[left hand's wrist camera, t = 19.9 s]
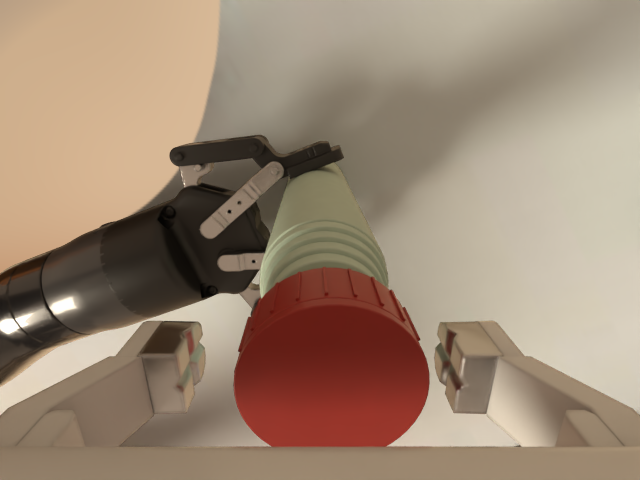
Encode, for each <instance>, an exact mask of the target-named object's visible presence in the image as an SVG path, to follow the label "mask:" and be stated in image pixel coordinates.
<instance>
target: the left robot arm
mask: <svg viewBox="0 0 640 480" xmlns="http://www.w3.org/2000/svg"><path fill="white" fill-rule="evenodd" d="M202 335H203V333H202V327H201V324H200V323H199V322H184V321H146V322H143V323H142V325H141V326H140V327H139V328H138V329H137V331H136V332H135V333H134V334H133V335H132V337H131V338H130V339H129V340H128V341H127V343H126V344H125V345H124V346H123V348H122V349H121V350H120V351H119V352H118V354H117V355H116V356H114V357H107V358H106V359H104V360H102V361H100V362H98V363H96V364H94V365H92V366H90V367H88V368H86V369H84V370H82V371H80V372H78V373H76V374H74V375H72V376H70V377H68V378H66V379H64V380H62V381H60V382H58V383H57V384H55V385H53V386H51V387H49V388H47V389H45V390H43V391H41V392H39V393H37V394H35V395H33V396H31V397H29V398H27V399H25V400H23V401H21V402H19V403H17V404H15V405H13V406H11V407H9V408H8V409H7V410H6V411H5V412H4V413H3V414H2V415H0V480H640V415H639V414H638V413H637V412H636V411H635V410H634V409H632V408H630V407H628V406H626V405H624V404H622V403H621V402H619V401H617V400H615V399H613V398H611V397H609V396H607V395H605V394H603V393H601V392H599V391H597V390H595V389H593V388H591V387H589V386H587V385H585V384H583V383H581V382H579V381H578V380H576V379H574V378H572V377H570V376H568V375H566V374H564V373H562V372H560V371H558V370H556V369H554V368H552V367H550V366H548V365H546V364H544V363H542V362H540V361H538V360H536V359H534V358H533V357H526V356H524V355H523V354H522V352H521V351H520V350H519V349H518V347H517V346H516V345H515V344H514V343H513V341H512V340H511V339H510V338H509V337H508V335H507V334H506V333H505V332H504V331H503V329H502V328H501V327H500V326H499V325H498V323H497V322H495V321H475V322H440V324H439V327H438V333H437V335H438V337H439V339H440V341H441V343H440V344H439V345H438V346H437V347H436V348H435V357H434V359H435V369H436V373H437V376H438V378H439V381H440V382H441V383H443V384H444V385H445V386H446V391H445V395H446V397H447V399H448V401H449V404H450V406H451V408H452V410H453V413H470V414H486V416H487V417H489V418H490V419H491V420H492V421H493V422H494V423H495V424H497V425H498V426H499V427H500V428H501V429H502V430H503V431H505V432H506V433H507V434H508V435H509V436H510V437H511V438H513V439H514V440H515V441H516V442H517V443H518V444H519V445H521V446H522V447H118V446H120V445H121V444H122V443H123V442H124V441H125V440H126V439H128V438H129V437H130V436H131V435H132V434H133V433H134V432H136V431H137V430H138V429H139V428H140V427H141V426H143V425H144V424H145V423H146V422H147V421H148V420H149V419H151V418H152V417H153V416H154V414H169V413H187V410H188V408H189V406H190V404H191V401H192V399H193V397H194V395H195V391H194V386H195V385H196V384H197V383H199V382H200V381H201V378H202V376H203V373H204V368H205V348H204V347H203V346H202V345H201V344H200V342H199V341H200V339H201V337H202Z"/></svg>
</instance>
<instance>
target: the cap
mask: <svg viewBox="0 0 640 480" xmlns="http://www.w3.org/2000/svg"><path fill="white" fill-rule="evenodd" d="M419 340H420V338H419V336H418V334H417V331H416V329H415V327H414V325H413V323H412V321H411V319H410V317H409V315H408V313H407V310H406V308H405V307H403V308H402V306H401V304H400V302H399V301H398V299H397V298H396V297H395V294H394V292H393V291H392V290H389V289H388V288H387V287H386V286H384V285H383V284H381V283H380V282H379V281H377V280H375V278H374V277H373V276H372V277H370V276H368V275H365V274H363V273H360V272H357V271H353V270H351V269H349V268H348V269H343V268H326V267H323V268H317V269H311V270H307V271H303V272H297V274H295V275H292V276H290V277H288V278H286V279H284V280H282V281H281V282H279V283H278V282H277V283H275V286H274V287H272V288H271V289H270V290H269V291H268V292H267V293H266V294H265V295H264V296H263V297H262V299H261V298H259V300H258V303H257V306H256V307H255V309H254V311H253V313H252V316H251V317H248V320H247V323H246V326H245V330H244V333H243V336H242V340H241V343H240V346H239V350H238V352H240V354H239V357H238V361H237V364H236V368H235V371H234V395H235V399H236V403H237V407H238V409H239V411H240V414H241V416H242V417H243V419H244V421H245V422H246V424H247V425H248V426H249V427H250V429H251V430H252V431H253V432H254V433H255V434H256V435H257V436H258V437H259V438H261V439H262V440H263V441H265V442H266V443H267V444H269V445H270V446H272V447H386V446H387V445H389V444H391V443H392V442H394V441H395V440H397V439H398V438H399V437H401V436H402V435H403V434H404V433H405V432H406V431H407V430H408V429H409V428H410V427H411V426H412V425H413V423H414V422H415V421H416V419H417V418H418V416H419V415H420V413H421V411H422V409H423V407H424V405H425V402H426V399H427V396H428V390H429V369H428V364H427V360H426V357H425V355H424V352H423V350H422V348H421V346H420V344H419V342H418V341H419Z"/></svg>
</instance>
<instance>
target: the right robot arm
mask: <svg viewBox="0 0 640 480" xmlns="http://www.w3.org/2000/svg"><path fill="white" fill-rule="evenodd" d="M248 158H253V159H254V160H255V162H256V163H257V164H258V165H259V166H260V167H261V168H262V169H261V170H259V171H258V172H257V173H256V174H255V175H254V176H253V177H252V178H250V179H249V180H248V181H247V182H246V183H245V184H244V185H243V186H242V187H240V188H239V189H238V190H237V191H236V192H235V191H231V190H227V189H223V188H220V187H216V186H212V185H208V184H204V183H201V179H202V176H203V175H205V174H207V173H209V172H211V171H212V170H213V168H214V163H215V162H223V161H232V160H240V159H248ZM343 158H344V157H343V154H342V151H341V148H340V146H339V145H337V146H334V147H331V148H330V145H329V142H328V141H319V142H316V143H314V144H311V145H309V146H306V147H304V148H301V149H299V150H296V151H293V152H291V153H288V154H280V153H278V152H276V151H275V150H274V149H273V147H272V146H271V145H270V144H269V142H268V140H267V138H266V137H265V136H263V135H254V136H245V137H237V138H229V139H221V140H213V141H205V142H197V143H189V144H186V145H182V146H179V147H175V148H173V149H172V150H171V152H170V160H171V161H172V163H173V164H174V165H176V166H179V169H180V173H181V177H182V181H183V185H184V188H183V189H182V190H181V191H180V192H179V194H178V195H177V196H176V198H174V199H172V200H170V201H167V202H165V203H162V204H159V205H157V206H154V207H152V208H149V209H147V210H144V211H142V212H139V213H136V214H134V215H131V216H129V217H126V218H123V219H121V220H118V221H115V222H110V223H107V224H104V225H102V226H101V227H100V228H98V229H95V230H93V231H90V232H88V233H85V234H83V235H81V236H79V237H78V238H76V239H74V240H72V241H71V242H69V243H67V244H65V245H63V246H61V247H59V248H56V249H54V250H51V251H48V252H46V253H43V254H41V255H38V256H36V257H33V258H30V259H28V260H25V261H23V262H21V263H18V264H15V265H13V266H11V267H9V268H7V269H6V270H4V271H3V272H1V273H0V387H1V386H3V385H4V384H6V383H8V382H9V381H11V380H12V379H13V378H15V377H16V376H18V375H19V374H20V373H22V372H23V371H24V370H26V369H27V368H28V367H29V366H31V365H32V364H33V363H35V362H36V361H37V360H39V359H40V358H42V357H43V356H45V355H46V354H48V353H49V352H51V351H52V350H54V349H55V348H57V347H59V346H62V345H64V344H67V343H70V342H73V341H76V340H79V339H82V338H85V337H88V336H90V335H93V334H96V333H99V332H102V331H107V330H113V329H118V328H123V327H126V326H129V325H132V324H135V323H138V322H141V321H144V320H147V319H150V318H153V317H156V316H158V315H161V314H164V313H167V312H170V311H173V310H176V309H179V308H182V307H184V306H187V305H190V304H193V303H196V302H199V301H202V300H205V299H207V298H210V297H212V296H214V295H216V294H220V293H230V294H238V293H239V294H240V295H241V296H242V297H243V298H244V299H245V301H246V302H247V303H248V304H249V305H250V306H251V307H252V311H251V316H252V313H253V311H254V309H255V307H256V306H257V303H258V300H259V298H261V294H260V284H258V285H257V284H253V283H252V280H253V279H254V277H255V276H256V274H257V273H258V271H259V270H260V269H261V264H262V260H263V257H264V254H265V251H266V248H267V245H268V242H269V238H270V232H269V230H268V228H267V227H266V226H265V225H264V223H263V222H262V221H261V217H260V211H259V208H258V206H257V204H256V200H258V199H259V198H260V196H261V195H262V194H264V193H265V192H266V191H267V190H268V189H269V188H270V187H272V186H273V185H274V184H275V183H276V182H277V181H278V180H279V179H281V178H284V177H287V176H289V178H290V179H292V178H294V177H297V176H300V175H302V174H304V173H307V172H310V171H313V170H315V169H318V168H321V167H323V166H326V165H328V164H331V163H334V162H336V161H339V160H341V159H343ZM261 299H262V298H261Z"/></svg>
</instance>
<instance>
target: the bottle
mask: <svg viewBox="0 0 640 480" xmlns="http://www.w3.org/2000/svg"><path fill="white" fill-rule="evenodd" d="M323 267H326V268H343V269H348V268H349V269H351V270H353V271H357V272H360V273H363V274H365V275H368V276H370V277H372V276H373V277H374V278H375V280H377V281H379V282H380V283H381V284H383V285H384V286H386V287H387V288H388V273H387V269H386V263H385V259H384V256H383V254H382V252H381V250H380V248H379V246H378V244H377V242H376V240H375V238H374V236H373V234H372V232H371V230H370V228H369V226H368V224H367V221H366V219H365V217H364V215H363V213H362V211H361V209H360V207H359V205H358V203H357V201H356V199H355V197H354V195H353V193H352V191H351V189H350V187H349V185H348V183H347V181H346V179H345V177H344V175H343V173H342V171H341V170H340V168H339V167H338V166H337V165H336V164H335V163H331V164H328V165H326V166H323V167H321V168H318V169H315V170H313V171H310V172H307V173H304V174H302V175H300V176H297V177H294V178H292V179H290V178H289V179H288V182H287V185H286V188H285V191H284V194H283V198H282V201H281V204H280V207H279V210H278V213H277V216H276V220H275V223H274V226H273V229H272V232H271V235H270V238H269V242H268V245H267V248H266V251H265V254H264V257H263V260H262V264H261V269H260V294H261V298H262V297H263V296H264V295H265V294H266V293H267V292H268V291H269V290H270V289H271V288H272V287H274V286H275V283H277V282H278V283H279V282H281V281H282V280H284V279H286V278H288V277H290V276H292V275H295V274H297V272H303V271H307V270H311V269H317V268H323Z"/></svg>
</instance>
